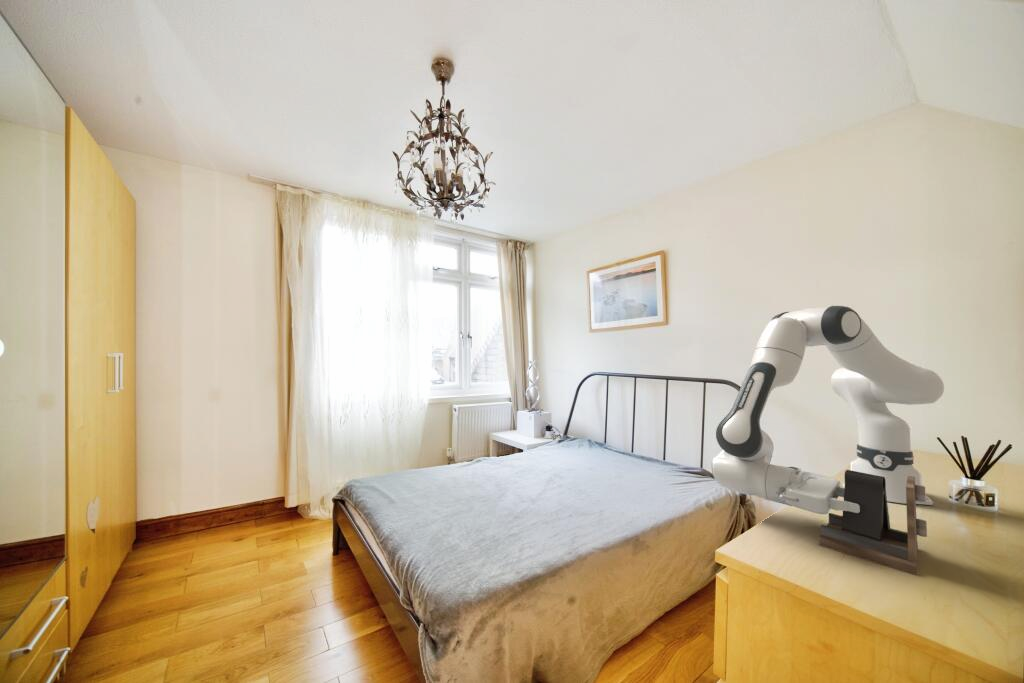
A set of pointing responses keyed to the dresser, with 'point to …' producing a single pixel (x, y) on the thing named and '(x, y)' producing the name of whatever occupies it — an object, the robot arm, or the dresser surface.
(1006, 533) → the dresser surface
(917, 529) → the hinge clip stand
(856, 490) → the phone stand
